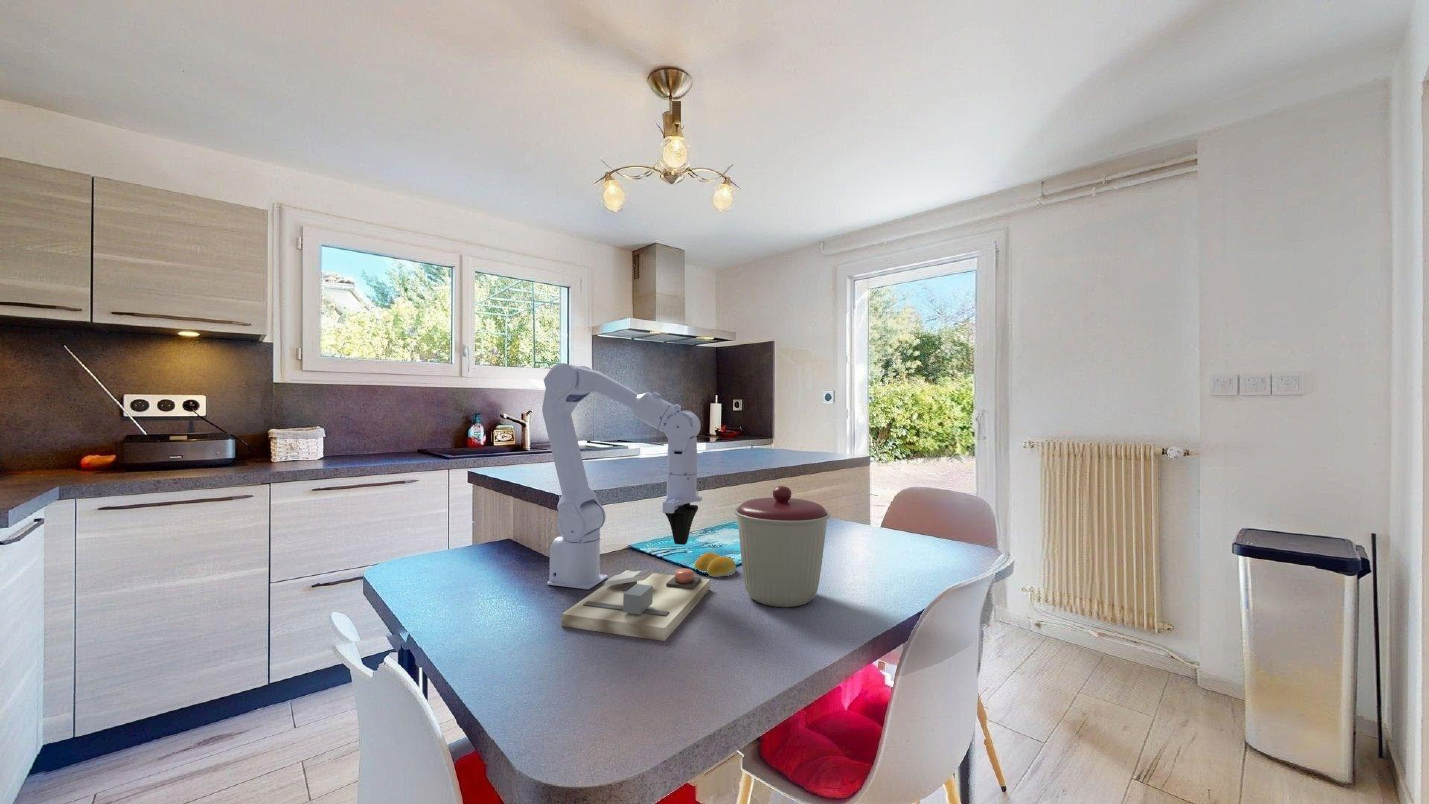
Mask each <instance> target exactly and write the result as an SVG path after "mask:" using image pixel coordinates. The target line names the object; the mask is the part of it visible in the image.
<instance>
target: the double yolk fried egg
mask: <svg viewBox="0 0 1429 804" xmlns="http://www.w3.org/2000/svg"><path fill="white" fill-rule="evenodd" d="M695 568H697V569H699V570H701V571H707V573H708V574H709V575H711V576H714V577H718V576H728V575H731V574H733V575H734V574H735V573H736V572H737V571H736V569H737V564H736V562H735V561H734V560H733V559H732V557H731V558H730V557H727V556H721V555H719V554H717V553H716V552H705V553H703V554H702V555H700V556H699V557H698V558H697V559H696V560H695V562H694V569H695ZM731 576H732V575H731ZM728 577H729V576H728Z"/></svg>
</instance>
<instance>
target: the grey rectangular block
mask: <svg viewBox="0 0 1429 804" xmlns="http://www.w3.org/2000/svg"><path fill="white" fill-rule="evenodd" d="M652 597H653V586H650V585H642V584H636V585H634V586H633V587H632V588H630V589H629V590H628V591H626V592H625V593H624V594H623V612H625V613H632V614H641V613H643V612H644V611H645V610H646V609H647V608H648V607H649V606H650V605H651V604H652Z"/></svg>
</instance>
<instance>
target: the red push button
mask: <svg viewBox="0 0 1429 804" xmlns="http://www.w3.org/2000/svg"><path fill="white" fill-rule="evenodd" d="M674 575H675V581H676V582H679V583H689V582H692V581H693V577H694V570H693V569H691V568H679V569H675V570H674Z"/></svg>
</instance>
